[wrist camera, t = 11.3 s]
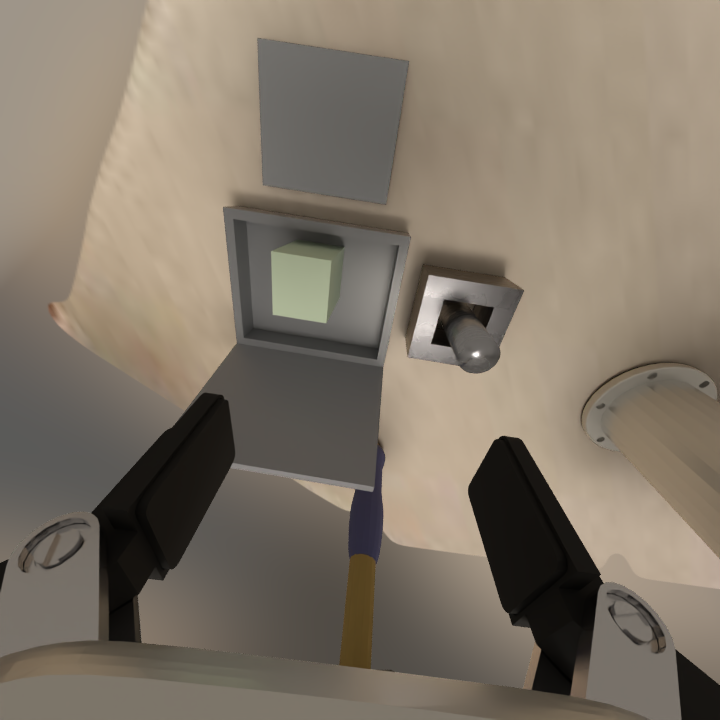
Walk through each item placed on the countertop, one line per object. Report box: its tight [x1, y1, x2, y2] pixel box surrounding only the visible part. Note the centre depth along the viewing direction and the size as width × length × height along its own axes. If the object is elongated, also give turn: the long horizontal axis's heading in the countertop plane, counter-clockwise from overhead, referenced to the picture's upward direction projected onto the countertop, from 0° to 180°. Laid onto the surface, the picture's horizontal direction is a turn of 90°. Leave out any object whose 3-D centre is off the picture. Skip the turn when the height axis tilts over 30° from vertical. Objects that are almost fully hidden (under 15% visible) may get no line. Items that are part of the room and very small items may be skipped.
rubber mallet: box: [339, 444, 394, 672], centre depth 27 cm, size 12×8×30 cm, turn 154°
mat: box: [257, 38, 409, 205], centre depth 22 cm, size 11×9×1 cm
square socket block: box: [405, 264, 524, 371], centre depth 27 cm, size 8×8×4 cm
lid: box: [176, 343, 383, 492], centre depth 25 cm, size 16×13×1 cm
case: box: [223, 206, 411, 367], centre depth 28 cm, size 16×13×3 cm
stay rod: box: [439, 299, 500, 373], centre depth 25 cm, size 3×3×10 cm
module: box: [271, 240, 345, 323], centre depth 25 cm, size 4×5×7 cm
